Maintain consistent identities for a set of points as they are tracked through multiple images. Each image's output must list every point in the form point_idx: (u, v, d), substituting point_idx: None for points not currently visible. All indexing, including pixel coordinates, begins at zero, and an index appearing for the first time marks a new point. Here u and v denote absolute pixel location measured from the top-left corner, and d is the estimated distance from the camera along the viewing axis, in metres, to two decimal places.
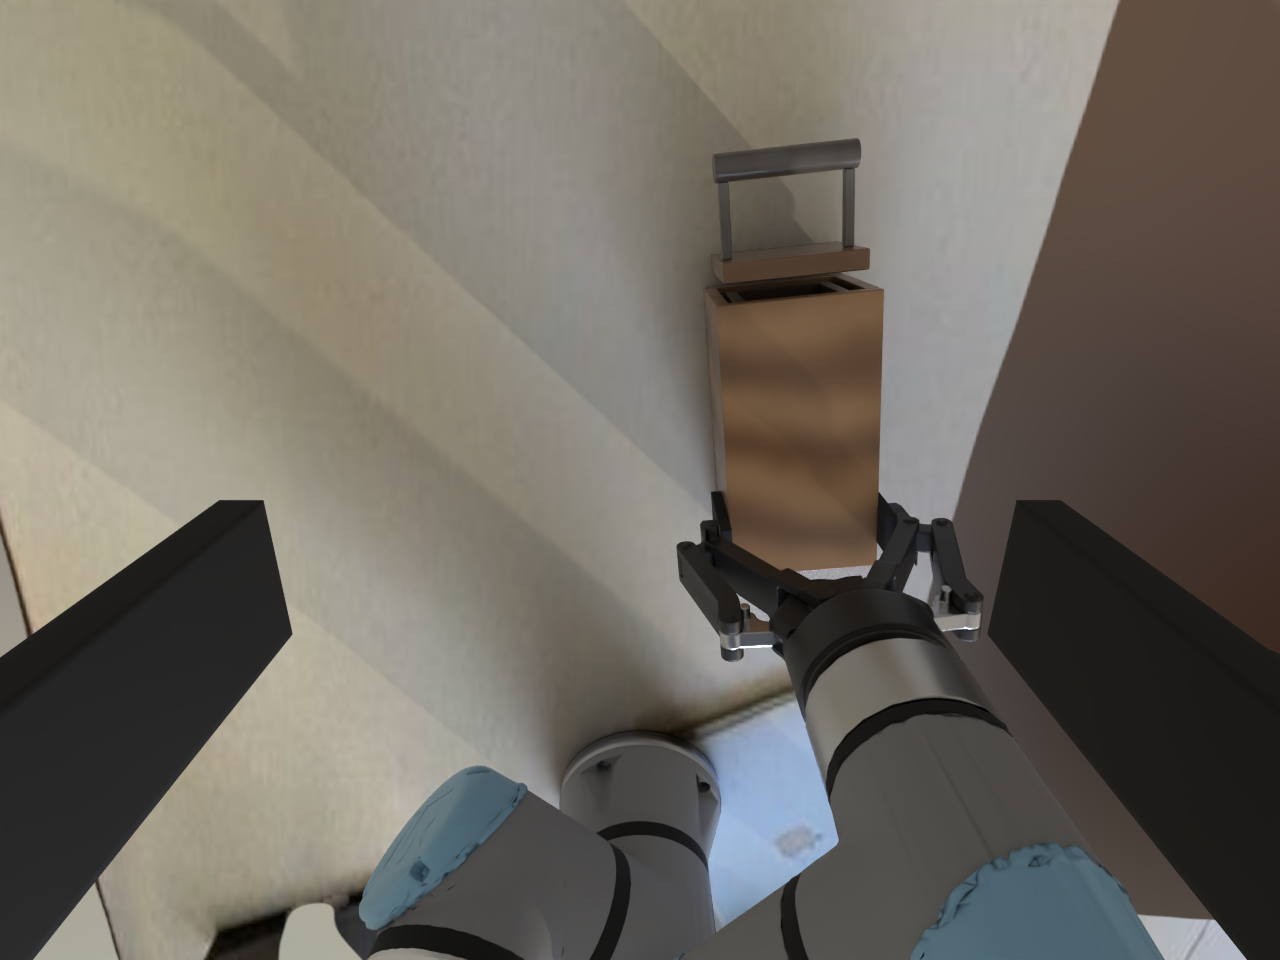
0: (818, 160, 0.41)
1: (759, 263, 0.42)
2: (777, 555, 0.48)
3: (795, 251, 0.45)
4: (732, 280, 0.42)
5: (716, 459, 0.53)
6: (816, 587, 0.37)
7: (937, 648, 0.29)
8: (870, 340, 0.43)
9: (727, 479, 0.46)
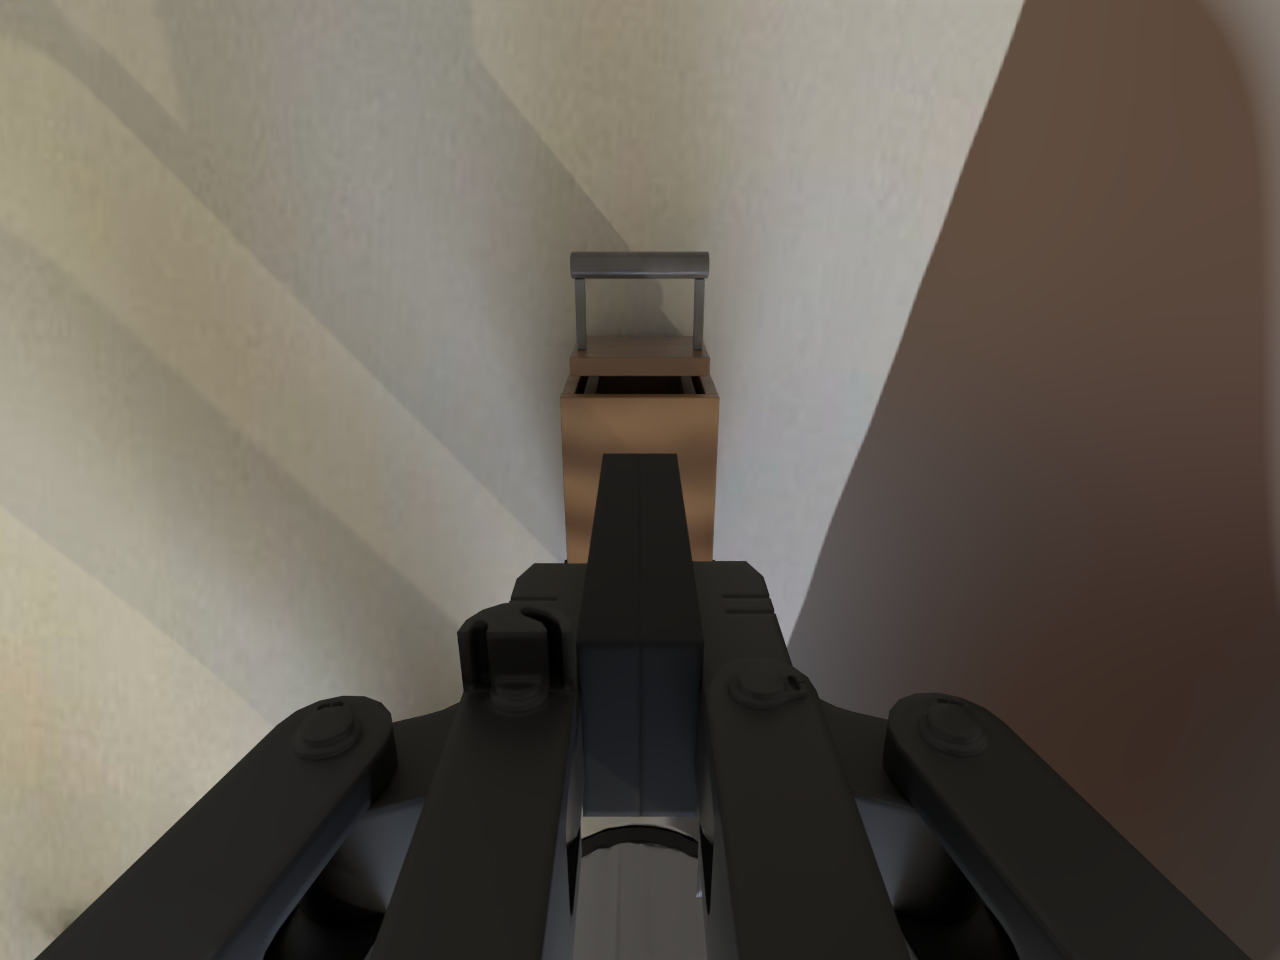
0: (668, 269, 0.44)
1: (605, 360, 0.44)
2: None
3: (648, 348, 0.47)
4: (578, 373, 0.44)
5: None
6: None
7: None
8: (705, 443, 0.45)
9: (567, 556, 0.48)
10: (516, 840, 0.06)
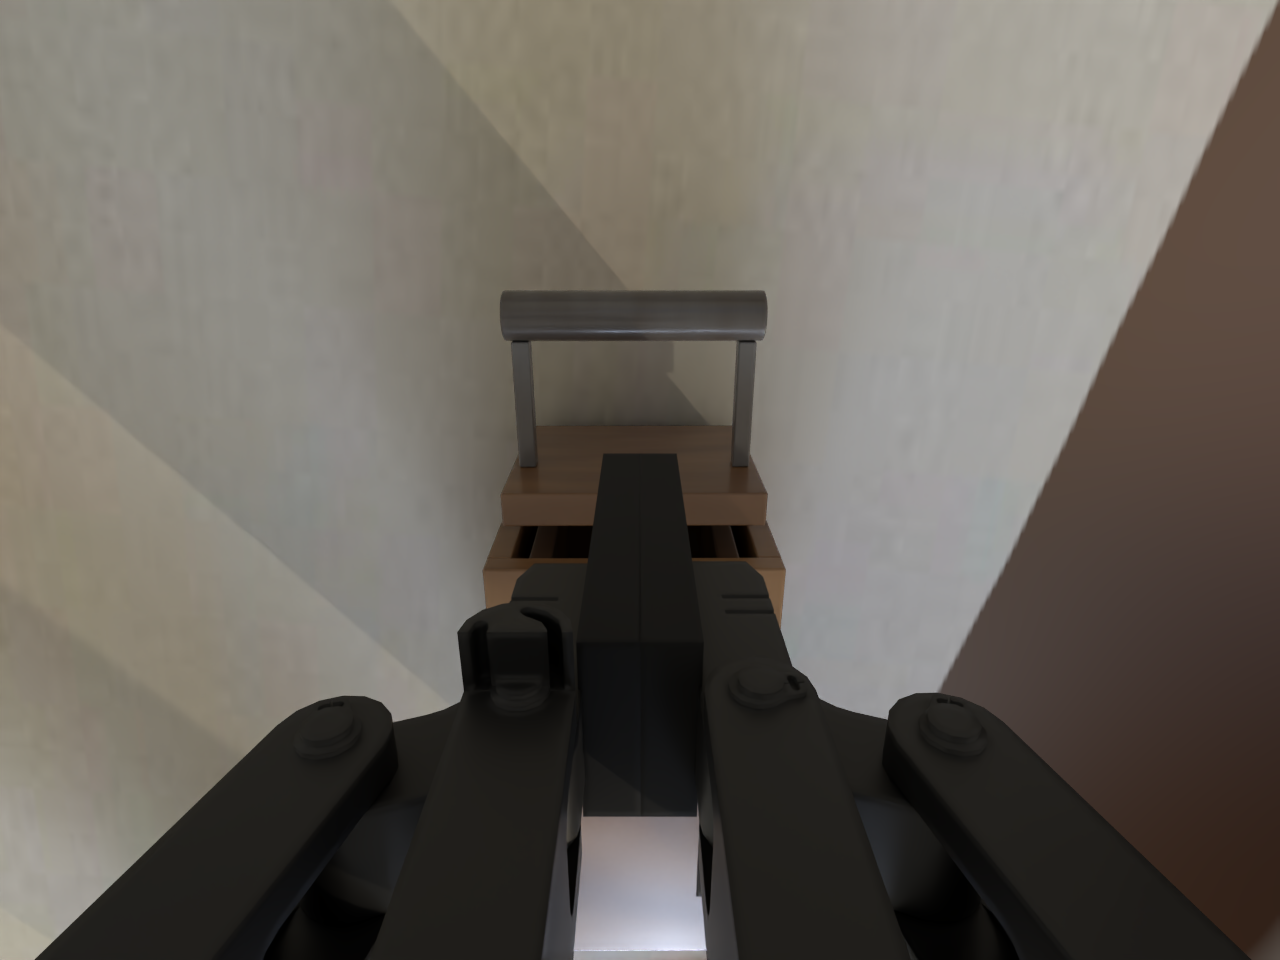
0: (688, 325, 0.23)
1: (568, 499, 0.23)
2: (592, 928, 0.29)
3: None
4: (518, 522, 0.23)
5: None
6: None
7: None
8: None
9: None
10: (517, 840, 0.06)
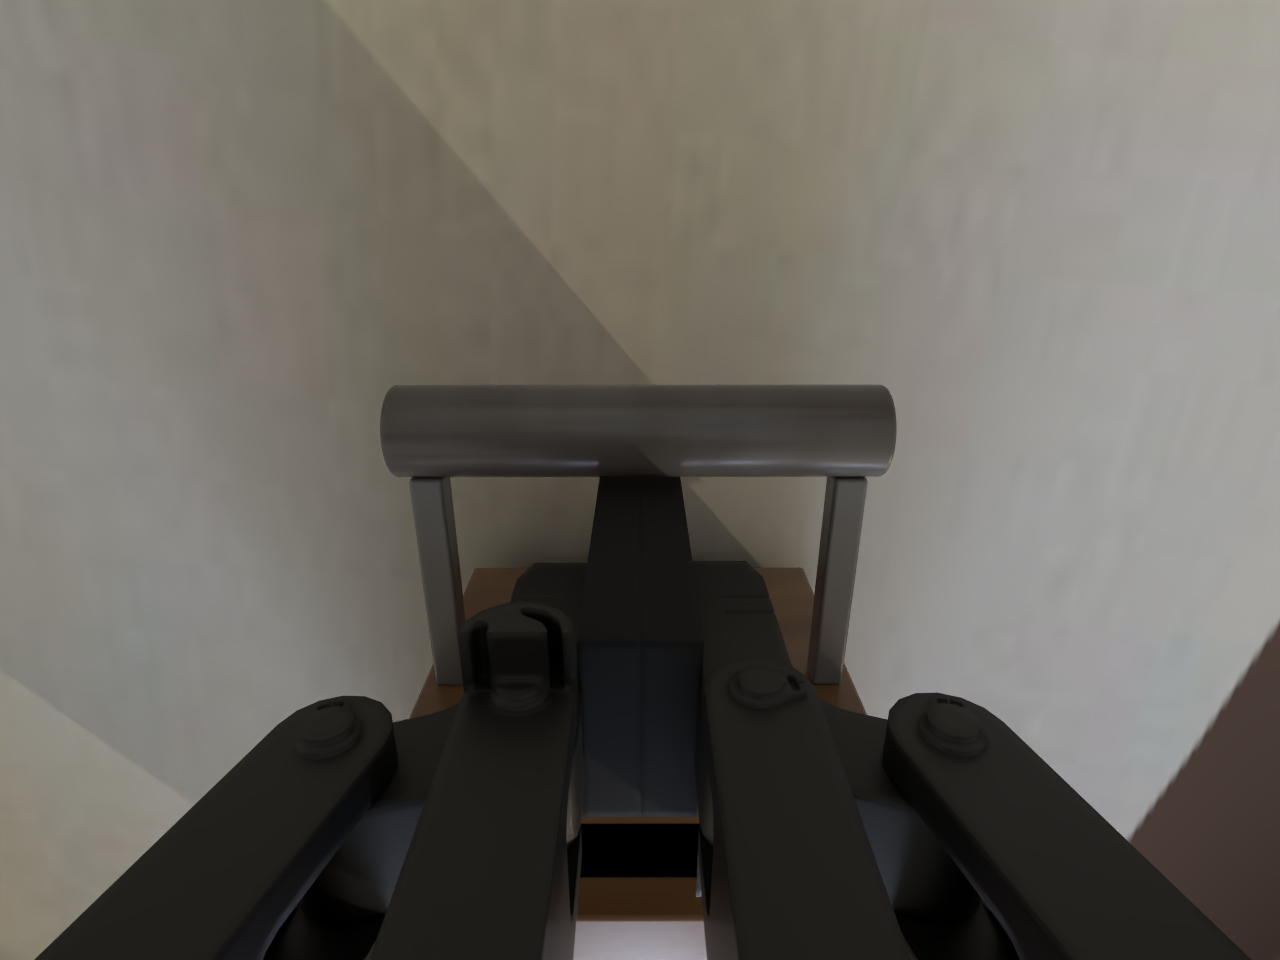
0: (744, 455, 0.12)
1: None
2: None
3: None
4: None
5: None
6: None
7: None
8: None
9: None
10: (516, 840, 0.06)
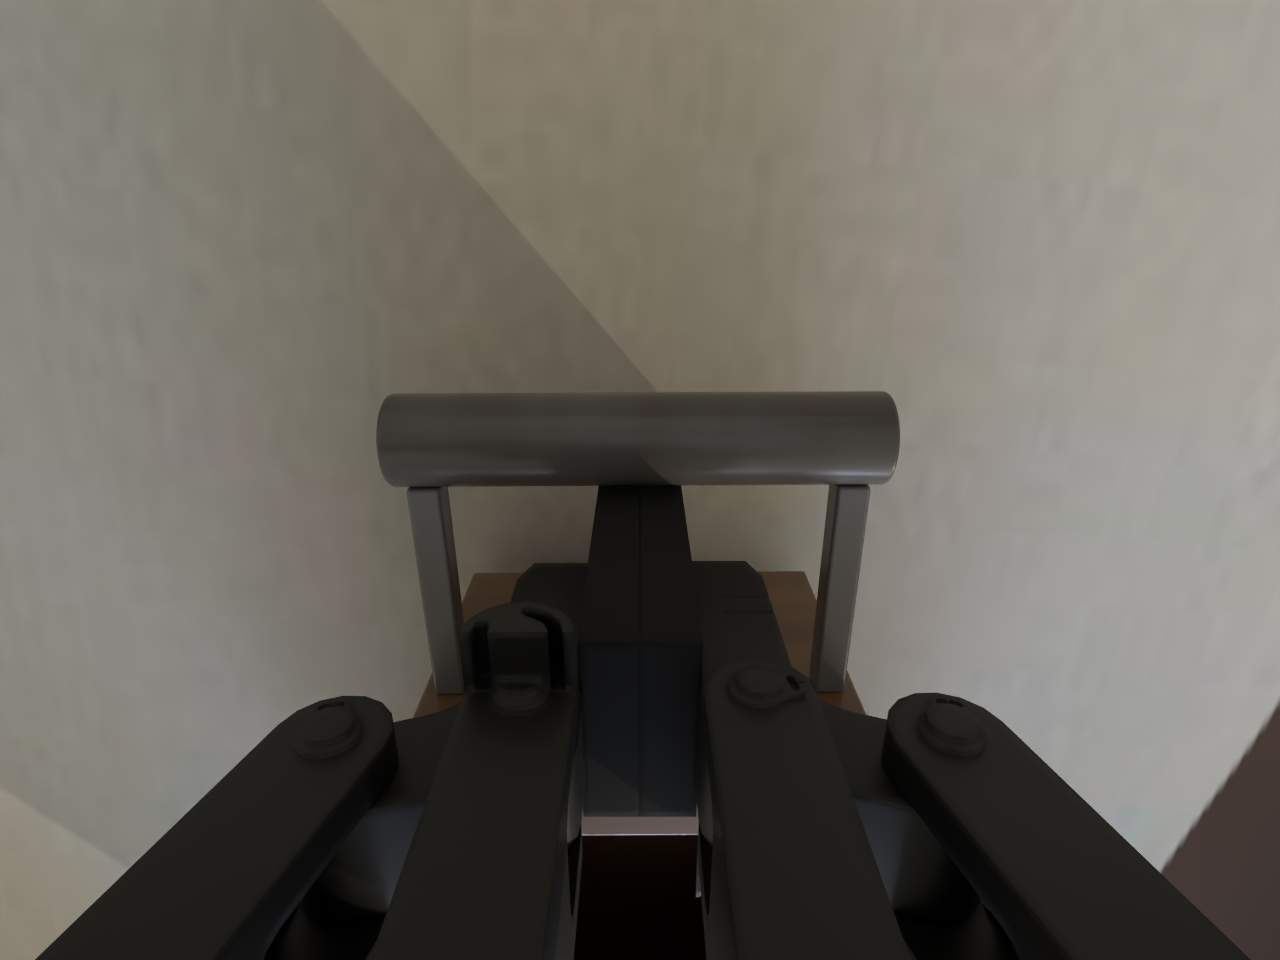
0: (745, 464, 0.12)
1: None
2: None
3: None
4: None
5: None
6: None
7: None
8: None
9: None
10: (517, 840, 0.06)
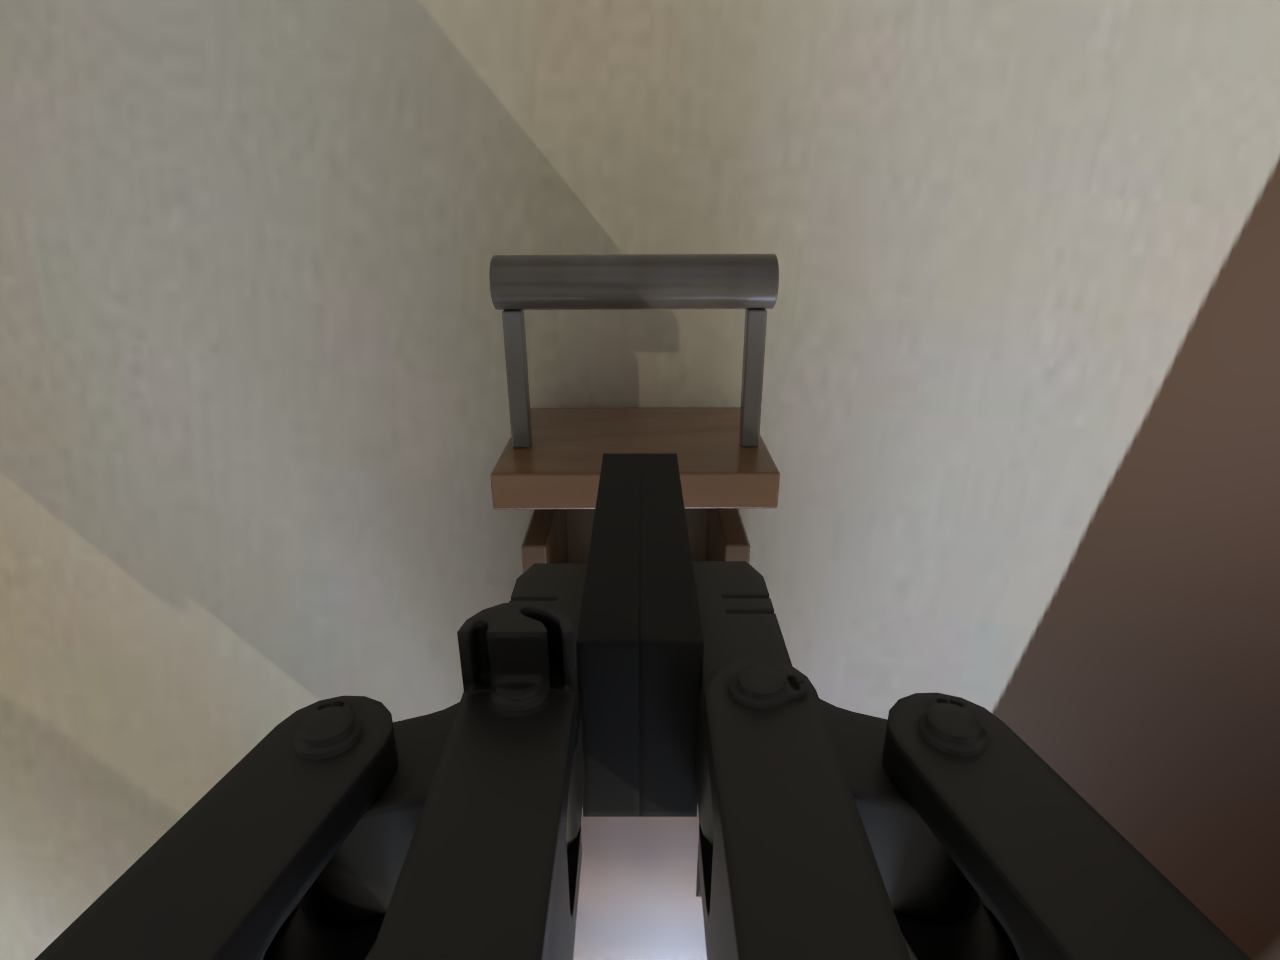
0: (693, 291, 0.21)
1: (563, 480, 0.21)
2: None
3: (652, 441, 0.24)
4: (510, 505, 0.22)
5: None
6: None
7: None
8: None
9: None
10: (516, 840, 0.06)
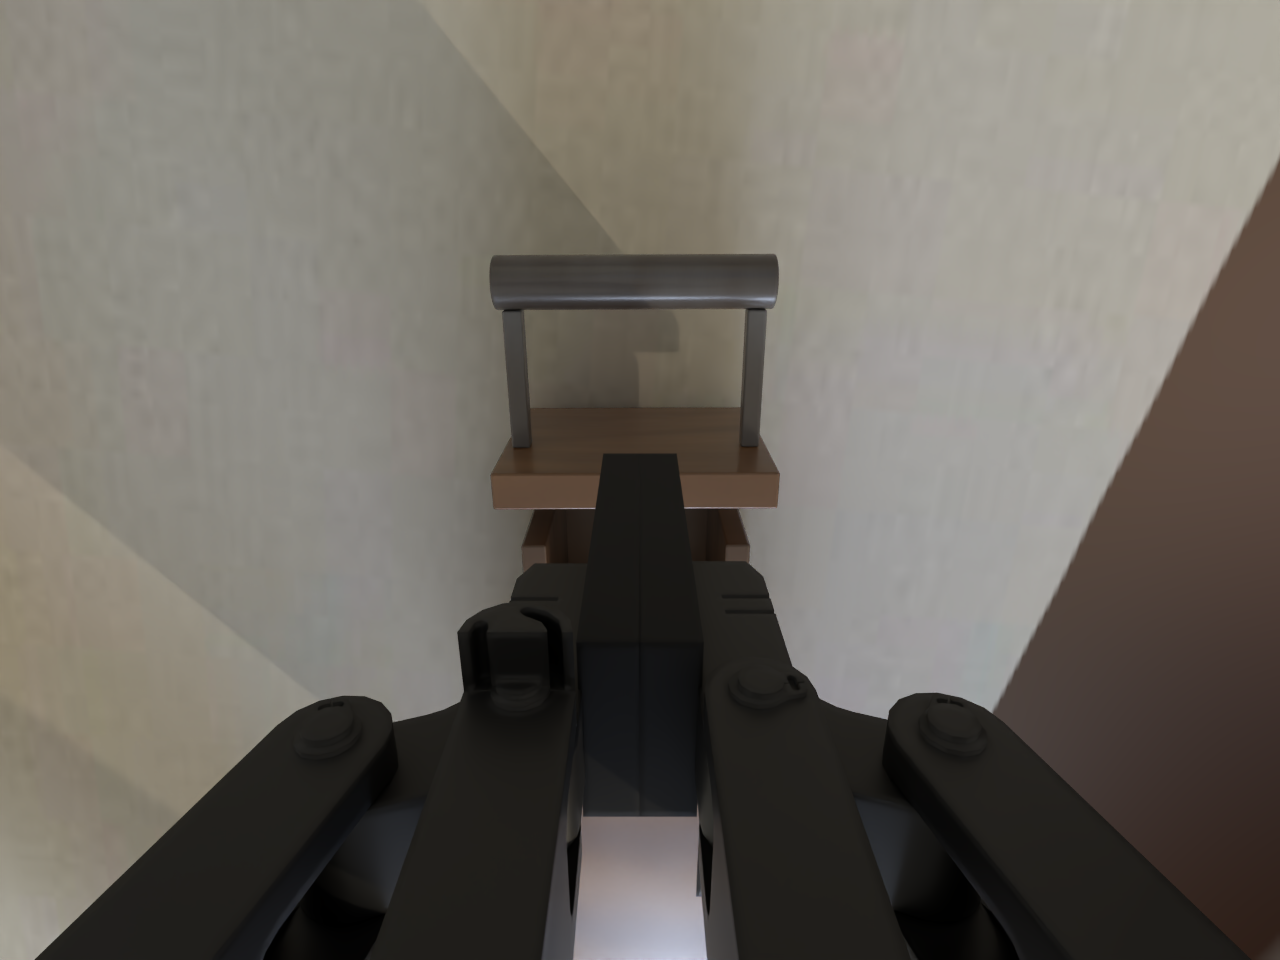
0: (693, 291, 0.21)
1: (563, 480, 0.21)
2: None
3: (652, 441, 0.24)
4: (510, 505, 0.22)
5: None
6: None
7: None
8: None
9: None
10: (516, 840, 0.06)
